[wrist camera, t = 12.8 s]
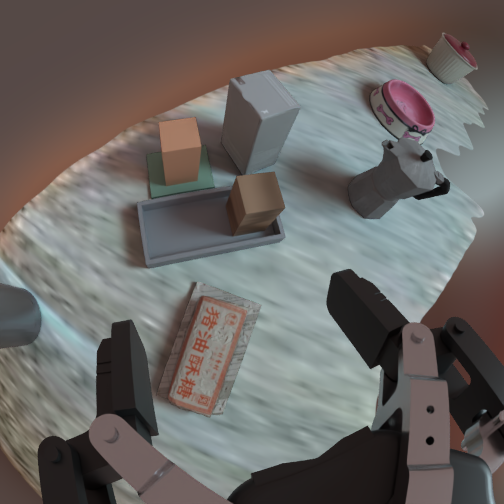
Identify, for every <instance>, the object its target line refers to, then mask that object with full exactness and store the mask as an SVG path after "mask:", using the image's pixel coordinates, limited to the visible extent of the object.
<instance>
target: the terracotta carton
mask: <svg viewBox="0 0 504 504" xmlns="http://www.w3.org/2000/svg"><path fill="white" fill-rule="evenodd" d="M159 131H160V141H161V151H162V160H163V167H164V174H165V181H166V186H171V185H177V184H182V183H188V182H194V181H198V172H199V163H200V155H201V142H200V137H199V132H198V127H197V122H196V117H193V118H185V119H177V120H171V121H164V122H159Z"/></svg>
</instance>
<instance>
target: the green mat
mask: <svg viewBox="0 0 504 504" xmlns="http://www.w3.org/2000/svg"><path fill="white" fill-rule="evenodd" d="M147 164H148V173H149V182H150V190H151V197H152V199H154V198H159V197H165V196H170V195H175V194H181V193H187V192H193V191H199V190H205V189H211V188H214V187H215V186H214V181H213V177H212V172H211V168H210V163H209V159H208V154H207V149H206V145H202V146H201V155H200V163H199V172H198V181H194V182H188V183H182V184H177V185H171V186H166V181H165V174H164V167H163V160H162V152H157V153H151V154H147Z"/></svg>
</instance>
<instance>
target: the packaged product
mask: <svg viewBox="0 0 504 504" xmlns="http://www.w3.org/2000/svg"><path fill="white" fill-rule="evenodd" d="M260 308H261V305H260V304H258V303H255V302H252V301H250V300H247V299H244V298H241V297H238V296H236V295H233V294H231V293H228V292H226V291H223V290H220V289H218V288H215V287H212V286H209V285H206V284H204V283H201V282H198V281H197V283H196V286H195V288H194V291H193V293H192V296H191V298H190V301H189V303H188V306H187V309H186V311H185V314H184V317H183V320H182V323H181V326H180V328H179V331H178V334H177V337H176V339H175V342H174V345H173V348H172V351H171V354H170V357H169V360H168V361H167V364H166V367H165V370H164V373H163V376H162V380H161V383H160V386H159V389H158V391H157V394H156V395H158V396H161V397H163V398H166V399H169V401H170V403H171V404H173V405H176V406H177V407H178V408H180V409H184V410H188V411H193V412H195V413H197V414H202V415H204V416H206V417H211V415H212V414H214V415H221V414H223V412H224V409H225V406H226V403H227V401H228V398H229V395H230V392H231V390H232V387H233V384H234V382H235V379H236V376H237V373H238V371H239V368H240V365H241V362H242V360H243V357H244V354H245V351H246V348H247V345H248V342H249V340H250V337H251V334H252V331H253V328H254V326H255V323H256V320H257V317H258V314H259V311H260Z"/></svg>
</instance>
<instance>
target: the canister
mask: <svg viewBox="0 0 504 504" xmlns="http://www.w3.org/2000/svg"><path fill="white" fill-rule="evenodd" d="M468 50H469V45H468V44H467V43H466V42H462V43H460V42H459V41H458V40H457V39H455V38H454V37H453V36H451V35H449V34H445V33H442V37H441V39H440V40H439V42H438V43H437V44H436V46H435V47H434V49H433V50H432V52H431V53H430V55H429V56H428V58H427V65H428V67H429V69H430V70H431V72H432V73H433V74H434V75H435V76H436V77H437V78H438V79H439V80H440V81H442V82H443V83H445V84H452V83H454V82H456V81H457V80H459V79H460V78H462V77H464V76H465V75H466V74H468V73H470V72H471V71H472V70H474V69H478V67H477V63H476V61H475V59H474V58H473V56H472V55H471V53H470V52H469V51H468Z"/></svg>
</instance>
